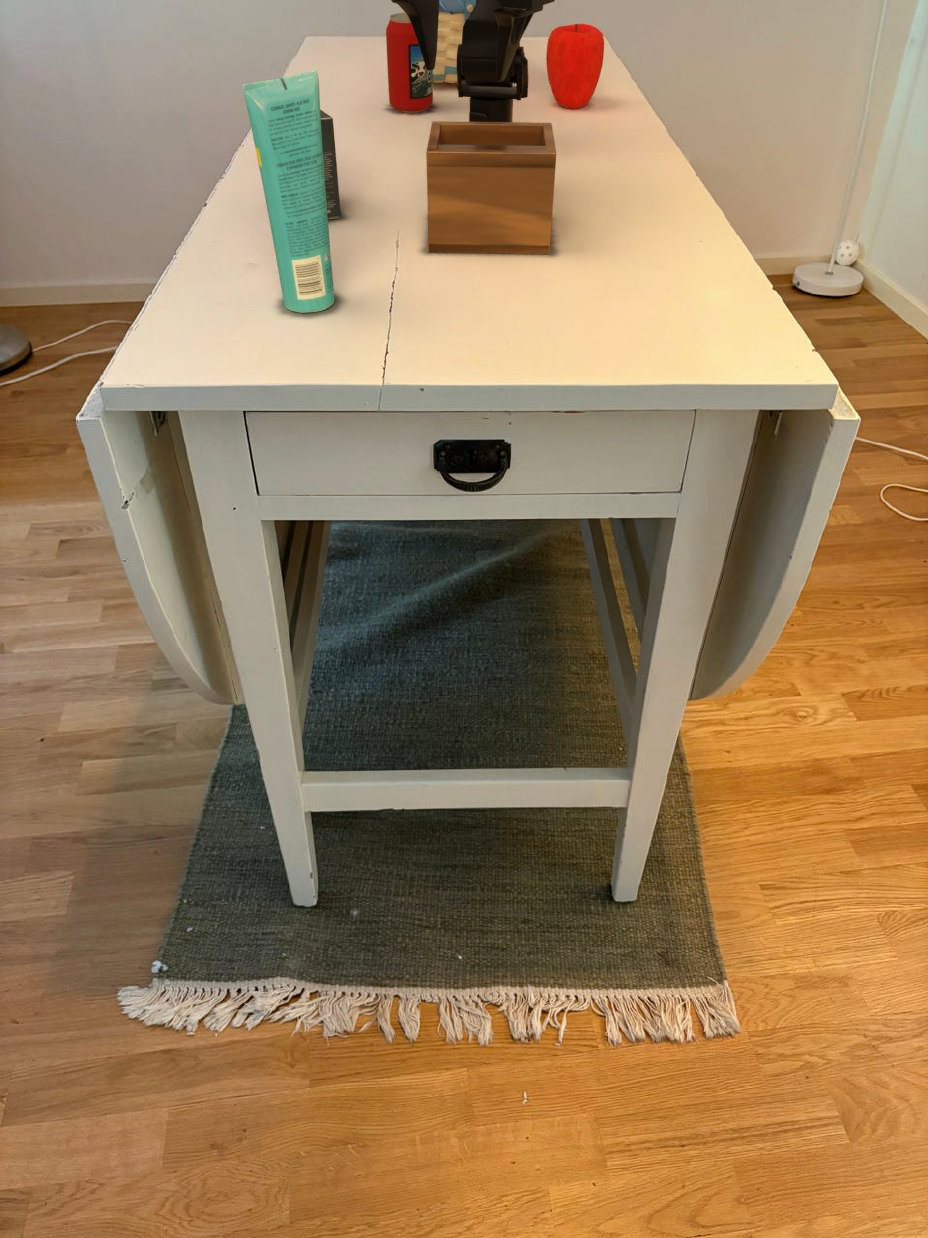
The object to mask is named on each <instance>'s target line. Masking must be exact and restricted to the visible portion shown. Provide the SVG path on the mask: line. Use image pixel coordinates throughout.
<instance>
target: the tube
mask: <svg viewBox="0 0 928 1238" xmlns="http://www.w3.org/2000/svg"><path fill="white" fill-rule="evenodd" d="M242 90H243V96H244V101H245V105H246V109H247V114H248V119H249V123H250V128H251V133H252V139H253V143H254V149H255V153H256V158H257V163H258V169H259V173H260V178H261V183H262V188H263V193H264V194H263V195H264V198H265V204H266V210H267V214H268V220H269V226H270V231H271V237H272V242H273V248H274V253H275V259H276V260H275V261H276V266H277V271H278V277H279V282H280V288H281V294H282V300H283V305H284V307H285V308H286V309H288V311H291V312H295V313H317V312H321V311H324V310H327V309H328V308H330V307H331V306H332V305H334V303H335V300H336V299H335V289H334V278H333V266H332V253H331V241H330V230H329V219H328V216H327V203H326V191H325V178H324V163H323V149H322V133H321V116H320V110H321V99H320V97H321V96H320V79H319V73H318V71H317V70H311V71H307V72H303V73H299V74H295V75H290V76H285V77H281V78H280V77H279V78H273V79H266V80H261V81H255V82H251V83H250V82H249V83H245V84H242Z"/></svg>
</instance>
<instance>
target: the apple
mask: <svg viewBox="0 0 928 1238" xmlns="http://www.w3.org/2000/svg"><path fill="white" fill-rule="evenodd" d="M604 54H605V39H604V34H603V32H601V30H599V28H597V27H596V26H593V25H592V24H588V23H574V24H568V25H560V26H557V27H554V29H553V30H551V32H550V34H549V36H548V38H547V44H546V55H545V59H546V60H545V61H546V73H547V79H548V83H549V86H550V90H551V93H552V97H553V98H554V100H555V102H556V103H557V104H558V105H560V106H562V107H564V108H566V109H570V110H571V109H572V110H577V109H582V108H583V107H585V106H586V105H588V104H589V103H590V102H591V99H592V97H593V96H594V94H595V91H596V89H597V86H598V83H599V80H600V76H601V72H602V68H603V64H604V56H605V55H604Z"/></svg>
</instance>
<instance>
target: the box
mask: <svg viewBox="0 0 928 1238" xmlns="http://www.w3.org/2000/svg"><path fill="white" fill-rule="evenodd" d="M320 116H321V133H322V149H323V163H324V178H325V191H326V203H327V216H328V220H332V219H333V220H334V219H340V217H341V215H342V214H341V203H340V189H339V176H338V163H337V151H336V141H335V128H334V118H333V117H332V116H331V115H329V114H328V113H327V112H325V111H324V110H322V109H320Z"/></svg>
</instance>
